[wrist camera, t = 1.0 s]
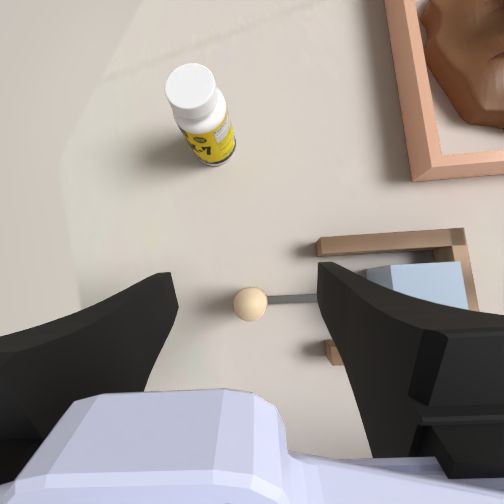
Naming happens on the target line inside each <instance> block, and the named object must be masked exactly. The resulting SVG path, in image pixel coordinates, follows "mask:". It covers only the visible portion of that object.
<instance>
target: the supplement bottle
mask: <svg viewBox="0 0 504 504" xmlns="http://www.w3.org/2000/svg"><path fill="white" fill-rule="evenodd" d="M165 94H166V97H167V99H168V101H169V103H170V105H171V108H172V110H173V116H174V119H175V121H176V123H177V125H178V127H179V128H180V130H181V131H182V133H183V135H184V136H185V138H186V140H187V142H188V143H189V144H190V146H191V148H192V149H193V151H194V153H195V154H196V156H197V157H198V159H199V160H200V161H202V162H203V163H205V164H207V165H211V166H218V165H222V164H224V163H226V162H227V161H229V160H230V159H231V157H232V156H233V154H234V152H235V149H236V139H235V135H234V132H233V128H232V124H231V120H230V117H229V113H228V109H227V105H226V102H225V99H224V97H223V95H222V93H221V92H220V90H219V89H218V88H217V86H216V83H215V80H214V77H213V75H212V73H211V72H210V70H209V69H208V68H206V67H205V66H203V65H200V64H196V63H189V64H185V65H182V66H180V67H178V68H176V69H175V70H174V71H173V72H172V73H171V74H170V75H169V77H168V78H167V81H166V84H165Z"/></svg>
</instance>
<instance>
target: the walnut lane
mask: <svg viewBox="0 0 504 504" xmlns="http://www.w3.org/2000/svg"><path fill="white" fill-rule="evenodd" d="M316 248H317V257H324V256H341V255H358V254H374V253H391V252H408V251H424V250H433V254H434V260H435V263H439V262H457V261H460V263H461V269H462V275H463V280H464V286H465V292H466V297H467V303H468V309H469V310H472V311H477V312H479V307H478V301H477V296H476V290H475V285H474V279H473V274H472V268H471V263H470V258H469V252H468V247H467V241H466V236H465V230H464V228H452V229H437V230H422V231H408V232H393V233H378V234H363V235H348V236H333V237H320V239H319V240H318V241H317V242H316ZM325 349H326V357H327V358H328V360H329V361H330V363H331V364H332V365H344V364H343V361H342V359H341V356H340V354H339V352H338V350H337V348H336V346H335V343H334V341H333V340H325Z"/></svg>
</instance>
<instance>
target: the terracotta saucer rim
mask: <svg viewBox="0 0 504 504" xmlns="http://www.w3.org/2000/svg"><path fill="white" fill-rule="evenodd" d="M384 2H385V9H386V15H387V22H388V28H389V35H390V41H391V48H392V54H393V61H394V67H395V74H396V80H397V86H398V93H399V99H400V106H401V112H402V119H403V125H404V132H405V138H406V145H407V151H408V158H409V164H410V170H411V177H412V182H417V181H429V180H441V179H452V178H464V177H476V176H487V175H499V174H504V150H496V151H485V152H475V153H464V154H453V155H443V156H442V152H441V147H440V141H439V135H438V130H437V124H436V118H435V113H434V107H433V101H432V96H431V90H430V84H429V79H428V73H427V67H426V62H425V56H424V50H423V45H422V39H421V34H420V28H419V22H418V17H417V11H416V5H415V0H384Z"/></svg>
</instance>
